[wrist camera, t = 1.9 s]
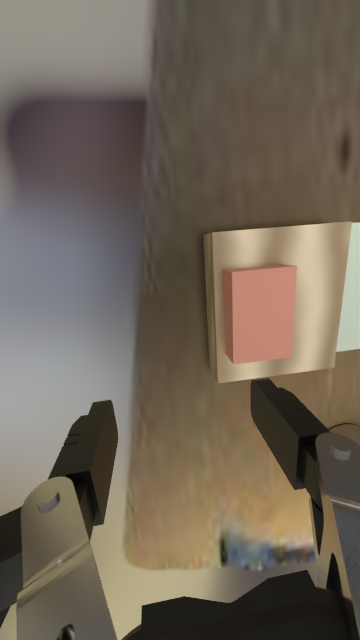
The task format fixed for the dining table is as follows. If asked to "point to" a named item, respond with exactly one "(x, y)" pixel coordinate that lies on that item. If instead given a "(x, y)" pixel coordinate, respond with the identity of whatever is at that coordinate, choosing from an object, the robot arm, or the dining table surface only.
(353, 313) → the mat
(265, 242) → the board
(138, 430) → the dining table surface
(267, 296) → the tile
